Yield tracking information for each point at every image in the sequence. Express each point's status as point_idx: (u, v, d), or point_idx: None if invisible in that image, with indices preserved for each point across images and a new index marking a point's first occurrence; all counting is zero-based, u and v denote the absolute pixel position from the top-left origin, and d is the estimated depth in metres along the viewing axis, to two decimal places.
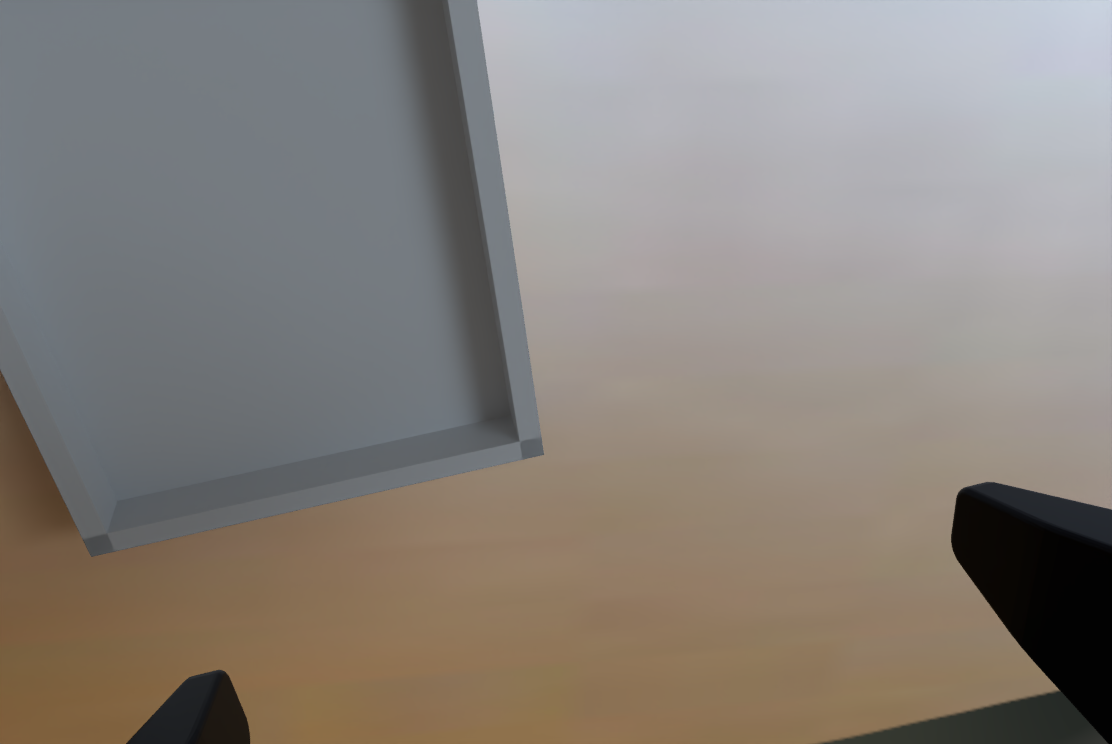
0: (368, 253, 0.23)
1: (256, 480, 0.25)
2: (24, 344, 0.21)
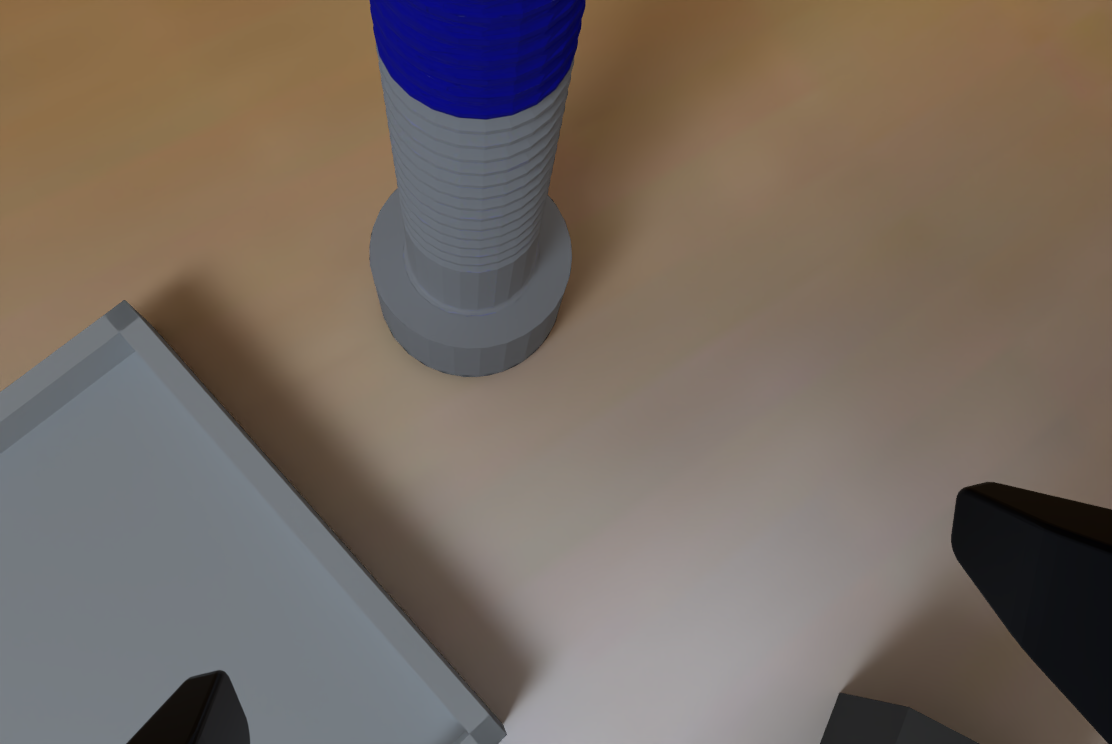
0: (1, 740, 0.21)
1: (5, 439, 0.22)
2: None
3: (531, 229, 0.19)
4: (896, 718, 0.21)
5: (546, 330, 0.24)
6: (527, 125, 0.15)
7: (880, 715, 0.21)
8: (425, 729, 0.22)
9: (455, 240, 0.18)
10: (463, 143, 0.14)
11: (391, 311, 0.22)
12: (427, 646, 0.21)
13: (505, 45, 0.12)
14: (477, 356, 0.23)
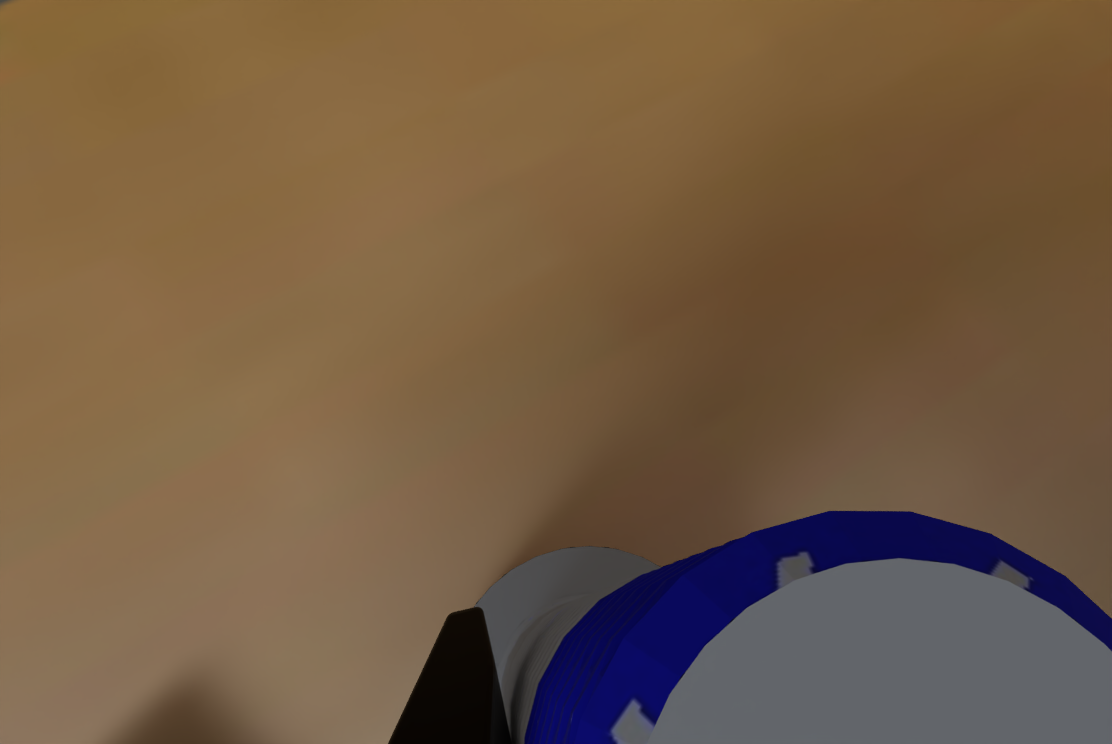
0: None
1: None
2: None
3: None
4: None
5: None
6: None
7: None
8: None
9: None
10: None
11: None
12: None
13: None
14: None
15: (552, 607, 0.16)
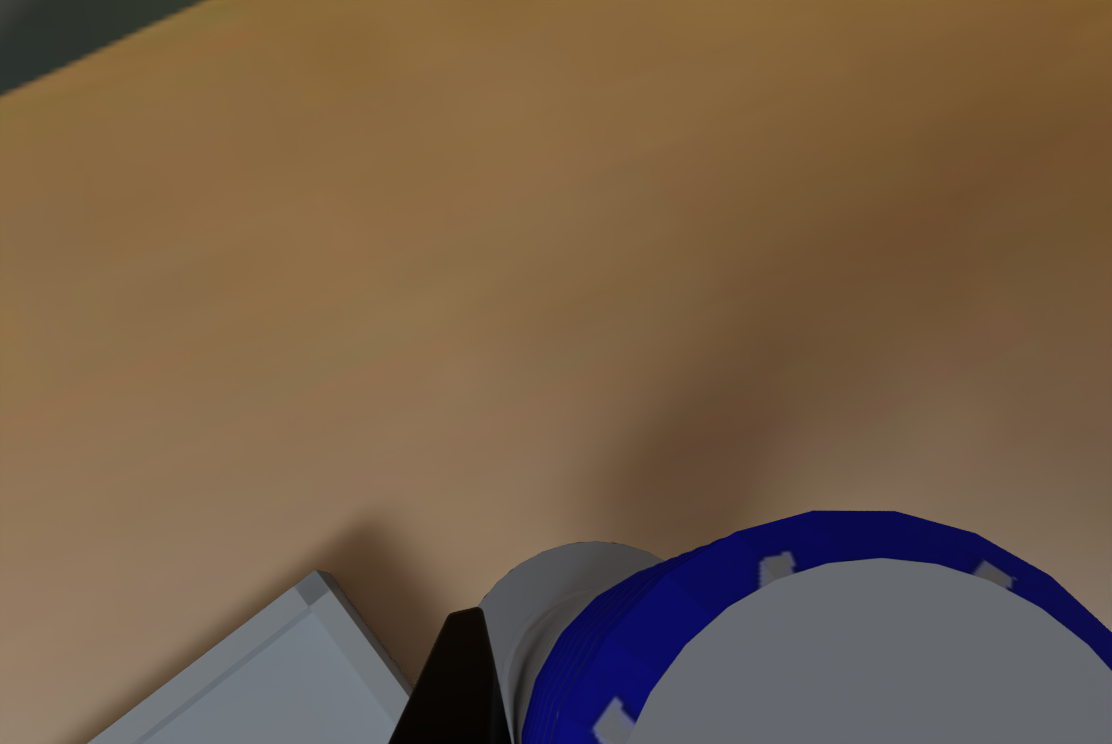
0: None
1: (182, 710, 0.21)
2: None
3: None
4: None
5: None
6: None
7: None
8: None
9: None
10: None
11: None
12: None
13: None
14: None
15: (559, 602, 0.16)
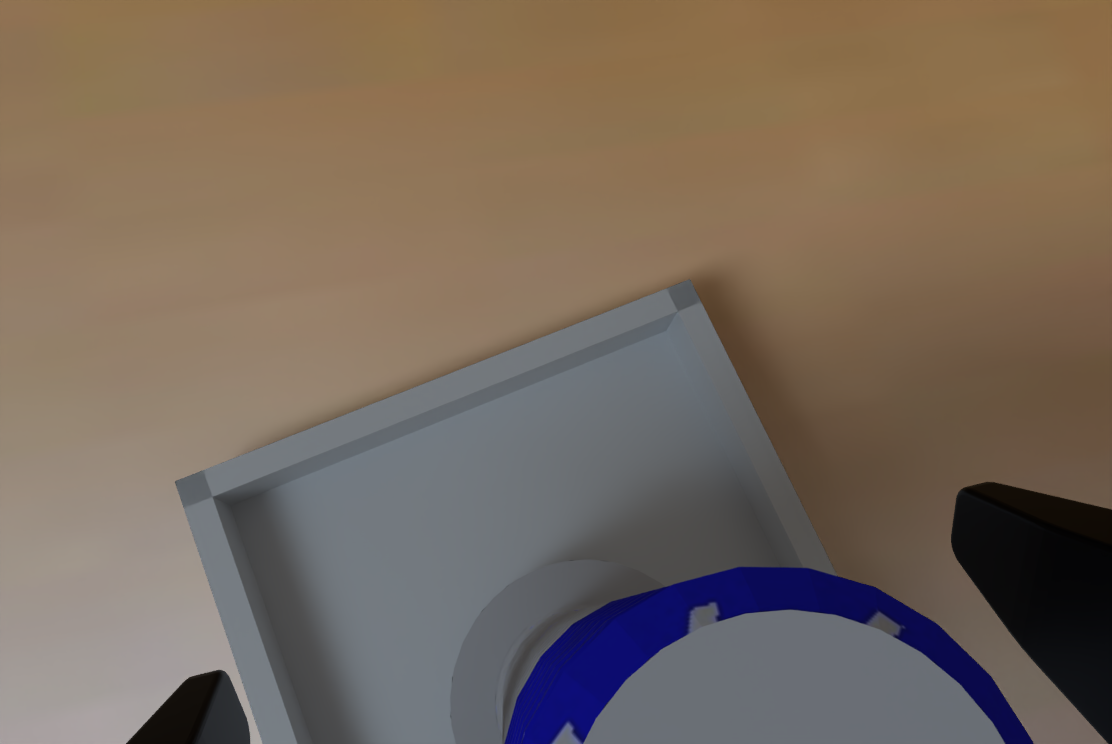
0: (443, 693, 0.20)
1: (526, 381, 0.21)
2: (781, 532, 0.20)
3: None
4: None
5: None
6: None
7: None
8: None
9: None
10: None
11: None
12: None
13: None
14: None
15: (552, 617, 0.17)
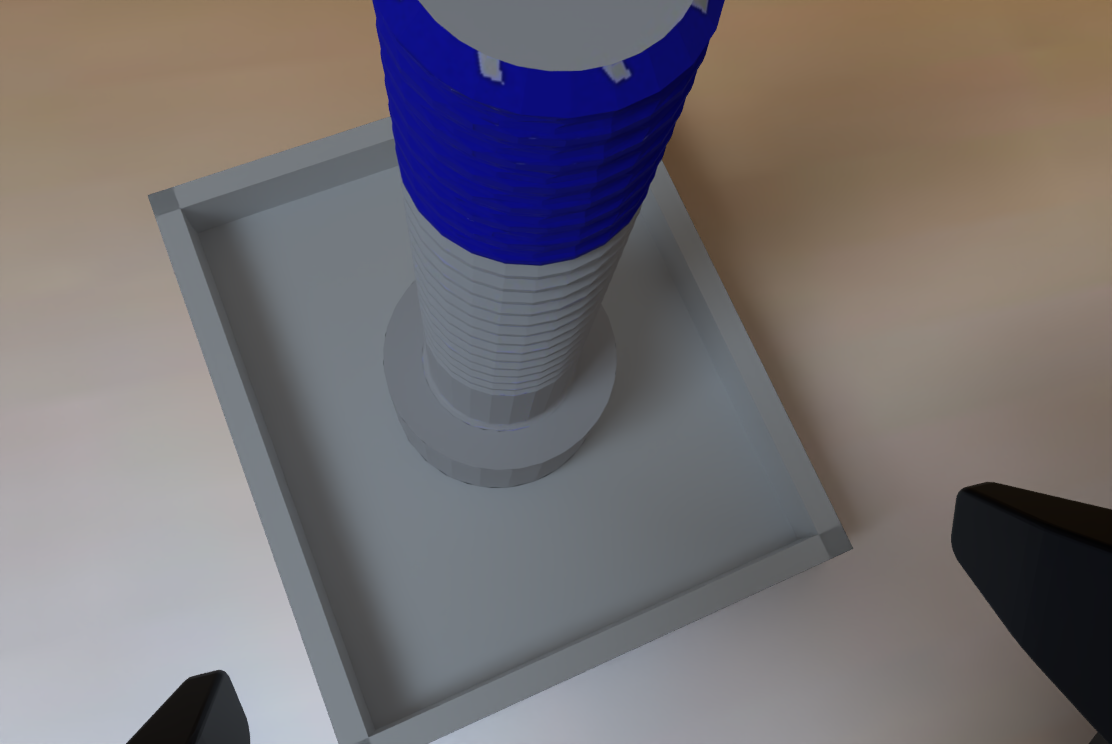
0: (382, 390, 0.22)
1: None
2: (679, 257, 0.23)
3: (577, 348, 0.16)
4: None
5: None
6: None
7: None
8: (756, 526, 0.22)
9: None
10: (508, 286, 0.11)
11: (408, 426, 0.19)
12: (799, 441, 0.22)
13: (575, 189, 0.09)
14: (507, 475, 0.20)
15: None
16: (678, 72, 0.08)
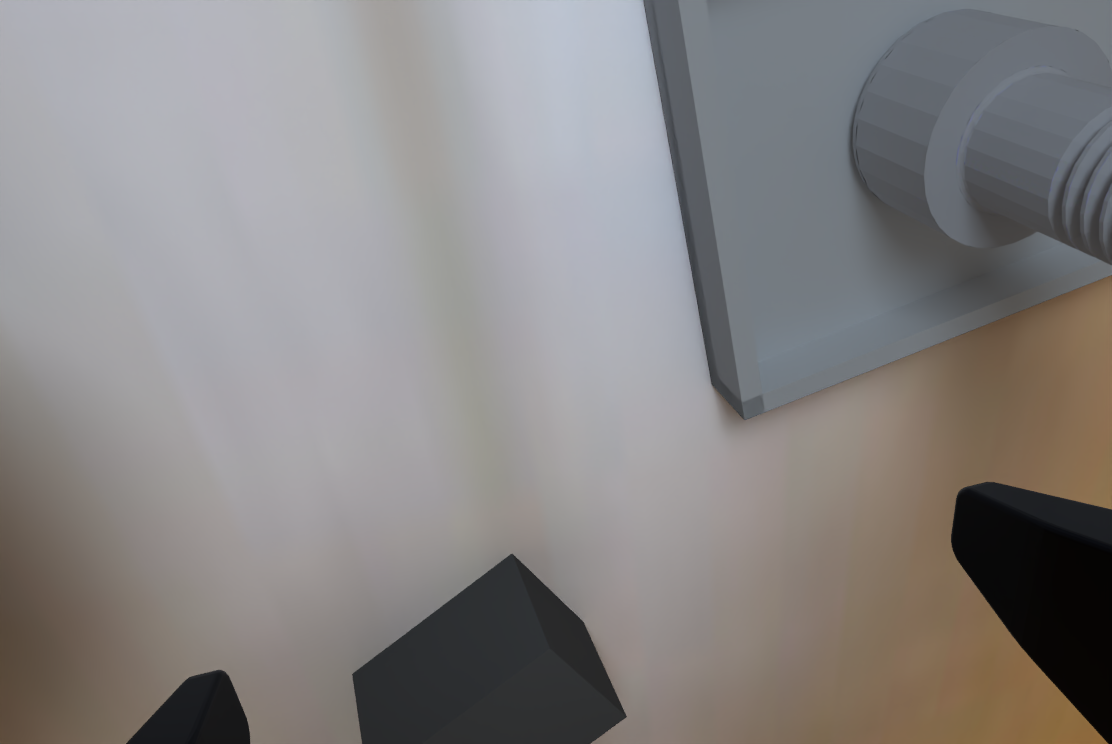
0: None
1: None
2: (998, 294, 0.25)
3: (1092, 249, 0.18)
4: (616, 701, 0.26)
5: (896, 203, 0.22)
6: None
7: (606, 679, 0.27)
8: (757, 336, 0.25)
9: None
10: None
11: (993, 46, 0.19)
12: None
13: None
14: (907, 135, 0.21)
15: None
16: None
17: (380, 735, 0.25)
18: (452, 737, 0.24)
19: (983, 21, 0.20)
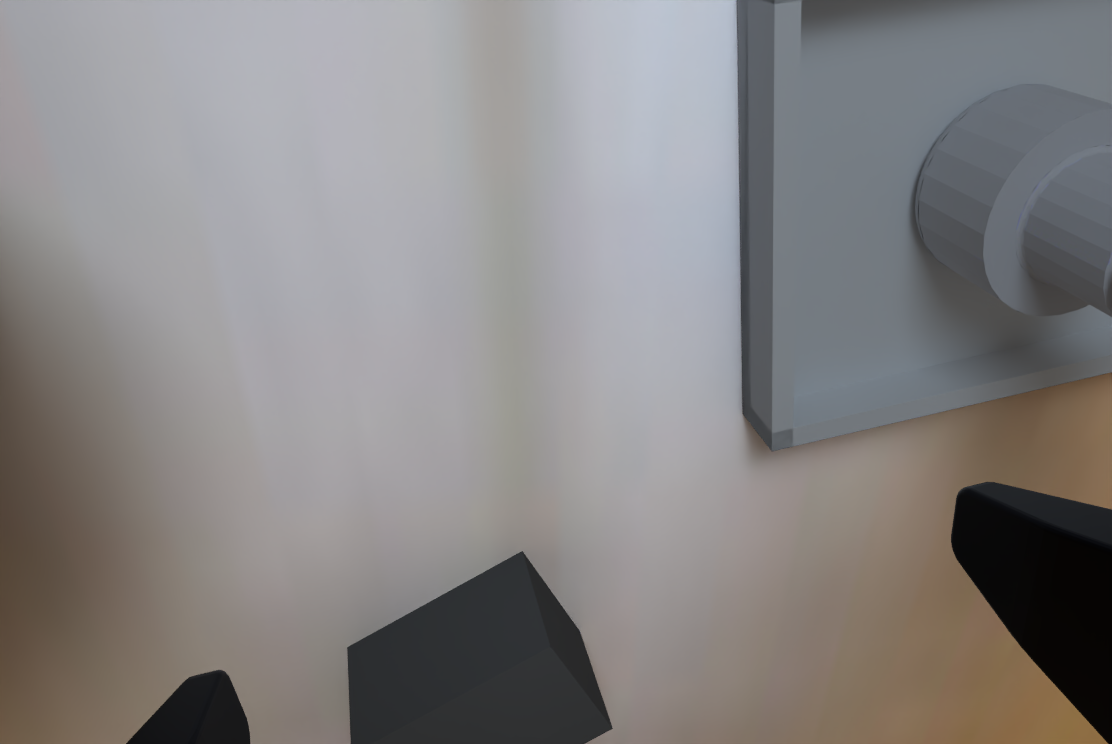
0: (1046, 70, 0.23)
1: None
2: (1034, 366, 0.26)
3: None
4: (604, 712, 0.26)
5: (950, 260, 0.23)
6: None
7: (596, 689, 0.27)
8: (794, 372, 0.25)
9: None
10: None
11: (1068, 120, 0.20)
12: (864, 429, 0.25)
13: None
14: (972, 194, 0.21)
15: None
16: None
17: (369, 709, 0.25)
18: (440, 721, 0.24)
19: (1059, 96, 0.21)
